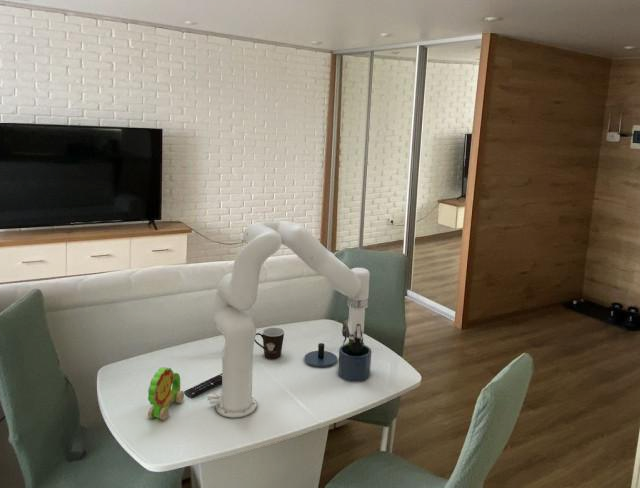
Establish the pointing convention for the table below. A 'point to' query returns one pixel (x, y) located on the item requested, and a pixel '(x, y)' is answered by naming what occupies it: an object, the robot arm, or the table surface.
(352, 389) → the table surface
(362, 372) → the pot
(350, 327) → the robot arm
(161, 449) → the table surface
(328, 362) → the lid
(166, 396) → the toy lion
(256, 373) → the table surface
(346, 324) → the plant with pod
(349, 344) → the beer can
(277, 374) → the table surface
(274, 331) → the coffee mug
